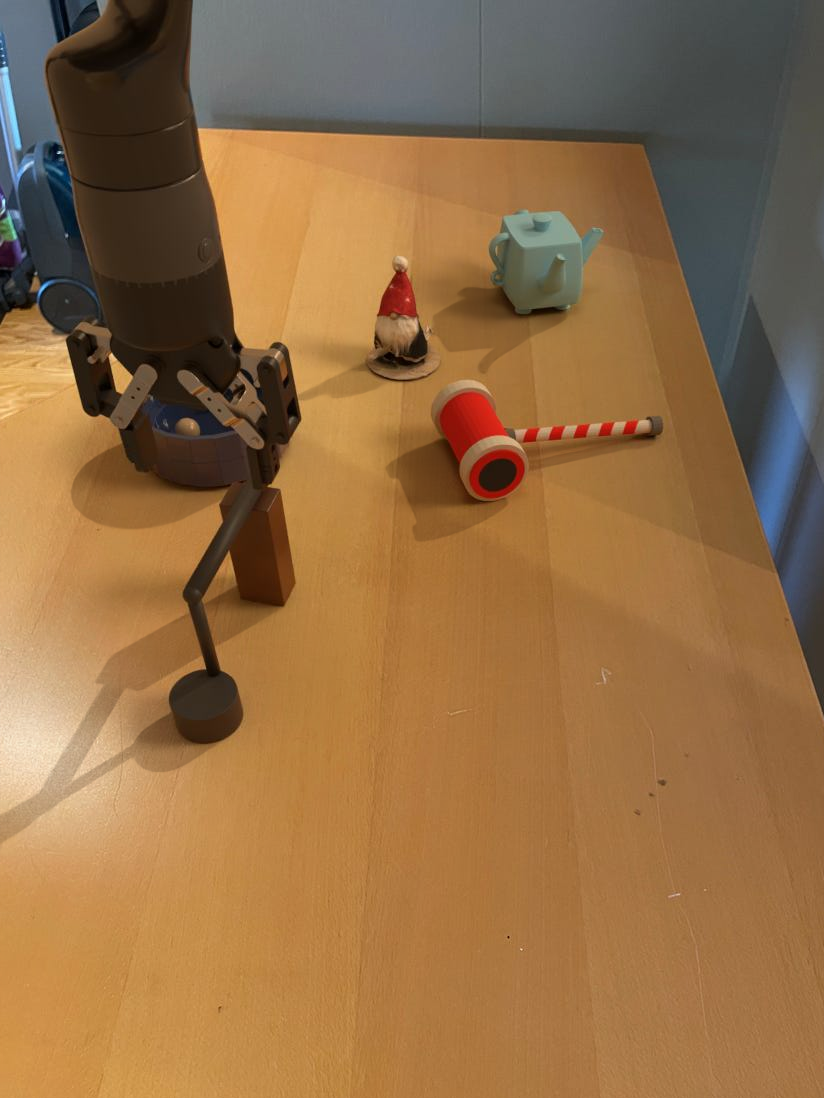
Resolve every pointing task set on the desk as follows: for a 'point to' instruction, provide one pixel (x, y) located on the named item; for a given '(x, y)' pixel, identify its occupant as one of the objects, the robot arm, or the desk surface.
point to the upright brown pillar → (262, 549)
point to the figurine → (401, 332)
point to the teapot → (541, 260)
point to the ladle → (210, 643)
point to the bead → (187, 427)
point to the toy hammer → (504, 438)
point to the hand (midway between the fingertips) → (205, 474)
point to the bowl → (200, 445)
